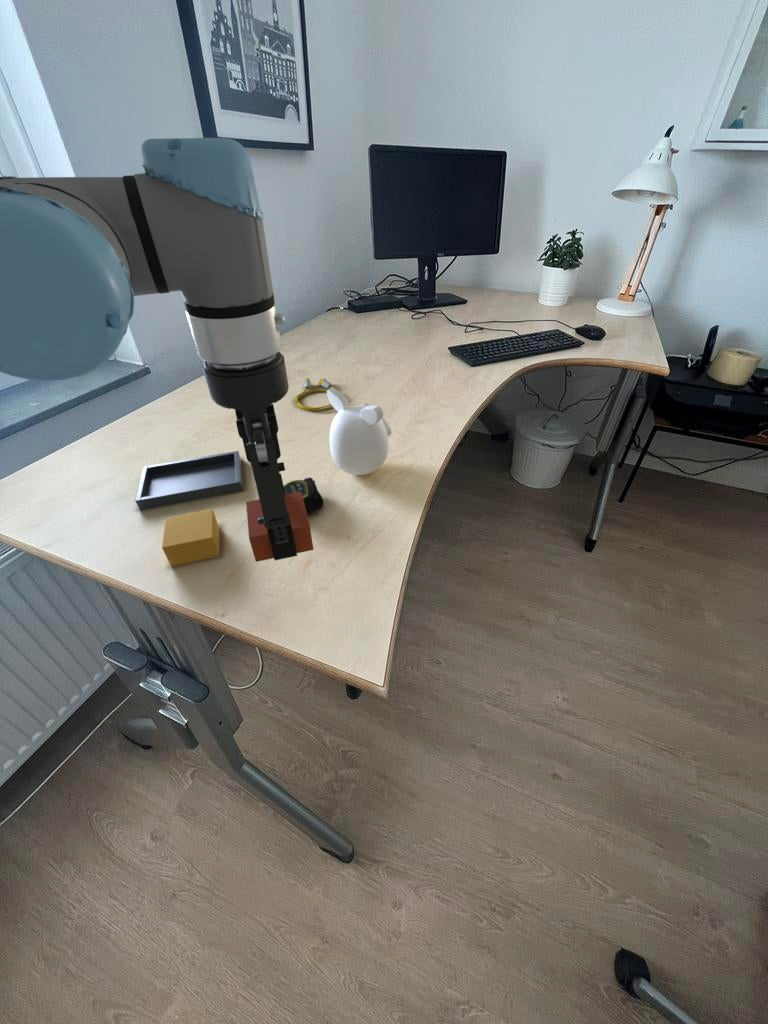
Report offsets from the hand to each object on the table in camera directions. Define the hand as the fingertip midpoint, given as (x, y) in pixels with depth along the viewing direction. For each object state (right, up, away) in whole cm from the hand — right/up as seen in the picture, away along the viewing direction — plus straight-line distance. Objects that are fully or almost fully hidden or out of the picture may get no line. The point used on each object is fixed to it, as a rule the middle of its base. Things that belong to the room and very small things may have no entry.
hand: (282, 535), depth 55 cm
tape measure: (-1, +4, +20) cm, 21 cm away
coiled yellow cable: (-3, +31, +53) cm, 61 cm away
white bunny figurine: (+8, +11, +29) cm, 32 cm away
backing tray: (-23, +8, +26) cm, 35 cm away
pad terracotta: (0, 0, 0) cm, 0 cm away
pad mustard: (-16, -2, +13) cm, 21 cm away
